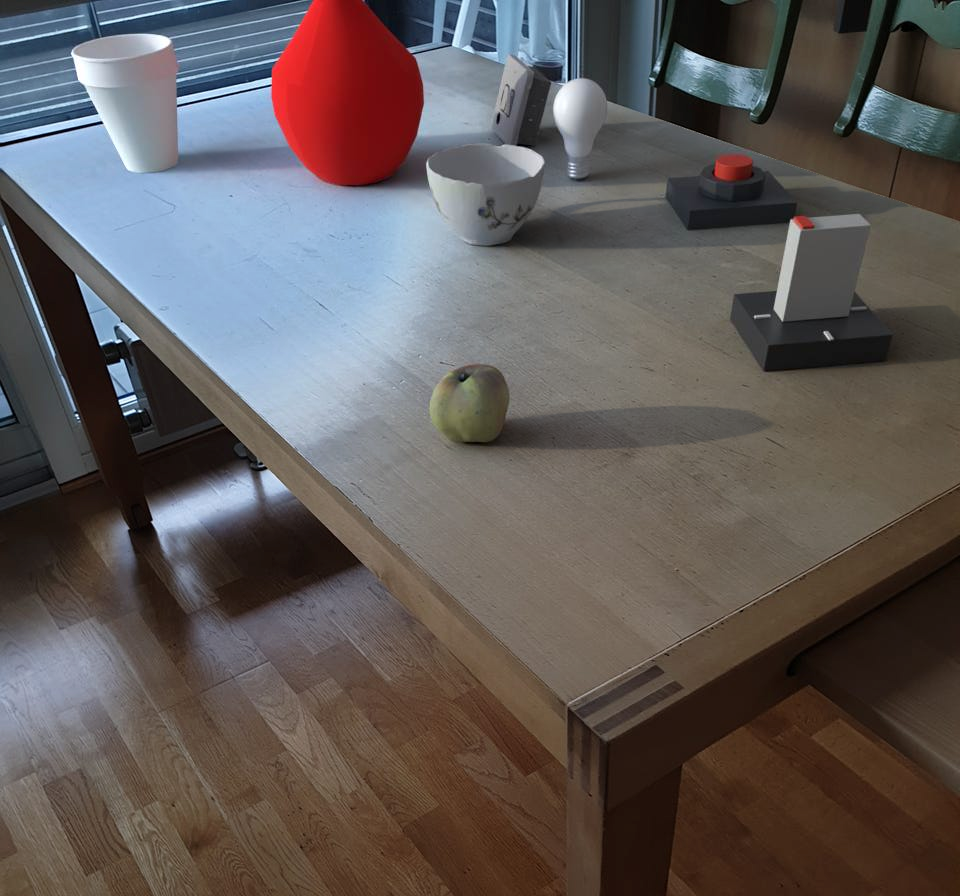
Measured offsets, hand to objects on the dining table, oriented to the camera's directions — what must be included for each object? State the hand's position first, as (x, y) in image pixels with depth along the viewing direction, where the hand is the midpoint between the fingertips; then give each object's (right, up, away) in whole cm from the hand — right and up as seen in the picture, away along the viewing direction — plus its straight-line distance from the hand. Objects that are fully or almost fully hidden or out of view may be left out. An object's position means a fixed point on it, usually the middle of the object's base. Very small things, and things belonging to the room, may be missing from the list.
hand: (849, 30), depth 92 cm
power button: (-7, -7, +15) cm, 18 cm away
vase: (-51, +1, +31) cm, 60 cm away
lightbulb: (-23, -2, +26) cm, 35 cm away
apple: (-35, -42, -14) cm, 57 cm away
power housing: (-7, -9, +18) cm, 21 cm away
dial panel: (-6, -31, -4) cm, 32 cm away
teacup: (-35, -13, +16) cm, 40 cm away
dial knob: (-6, -29, -6) cm, 30 cm away
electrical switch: (-30, +10, +38) cm, 50 cm away
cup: (-79, +5, +36) cm, 87 cm away
